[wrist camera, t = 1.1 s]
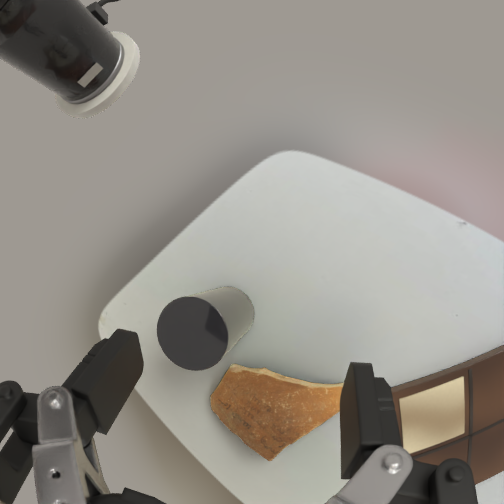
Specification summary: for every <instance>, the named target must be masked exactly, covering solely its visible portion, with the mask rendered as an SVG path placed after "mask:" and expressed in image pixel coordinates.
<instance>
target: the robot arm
mask: <svg viewBox="0 0 504 504" xmlns="http://www.w3.org/2000/svg"><path fill="white" fill-rule="evenodd" d="M115 1H119V0H101V1H99V2H98V3H97V2H94V3H92V4H90V5H89V6H87V7H85V6H84V5H83V4H82V3H81V2H80V1H79V0H0V59H1V60H3V61H5V62H6V63H8V64H10V65H11V66H13V67H14V68H16V69H18V70H19V71H21V72H23V73H24V74H26V75H27V76H29V77H30V78H32V79H34V80H35V81H37V82H38V83H40V84H42V85H43V86H45V87H46V88H48V89H50V90H51V91H53V92H54V93H56V94H57V95H59V96H61V97H62V98H63V99H64V100H65V101H67V102H69V103H71V104H82V103H85V102H88V101H90V100H92V99H93V98H95V97H96V96H98V95H99V94H101V93H102V92H103V91H104V90H105V89H106V88H107V87H108V86H109V85H110V84H111V83H112V81H113V80H114V79H115V77H116V76H117V74H118V73H119V71H120V69H121V67H122V64H123V61H124V55H125V52H124V47H123V45H122V44H121V43H120V42H119V41H118V40H117V39H116V38H115V37H113V35H112V34H111V33H110V32H109V31H108V30H107V29H106V28H105V27H104V25H105V24H107V23H108V14H107V13H106V12H105V11H104V10H103V9H102V8H101V7H102V6H103V5H104V4H106V3H108V2H115ZM143 366H144V362H143V357H142V352H141V348H140V343H139V338H138V335H137V333H136V332H132V331H127V330H123V329H117V330H116V331H115V332H114V333H113V334H112V336H111V337H110V338H109V339H106V338H105V339H103V340H102V341H100V342H98V343H97V344H95V345H94V346H93V347H92V349H91V350H90V351H89V352H88V355H86V356H85V357H84V358H83V360H82V362H80V363H79V365H78V366H77V367H76V368H75V370H74V371H73V372H72V373H71V375H70V376H69V377H68V379H67V380H66V381H65V382H64V383H63V385H62V386H52V387H49V388H47V389H45V390H44V391H42V392H41V394H34V393H26V392H23V390H22V388H21V386H20V385H19V384H18V383H17V382H15V381H5V382H2V383H0V443H1V441H2V440H3V438H4V437H5V435H6V434H7V432H8V431H9V429H10V428H12V429H13V433H12V435H11V436H10V437H9V439H8V440H7V442H6V444H5V445H4V447H3V448H2V450H1V451H0V504H12V503H13V501H14V500H15V498H16V496H17V494H18V492H19V490H20V488H21V486H22V485H23V483H24V481H25V479H26V477H27V476H28V474H29V472H30V470H31V468H32V467H34V477H35V486H36V492H37V499H38V504H166V503H164V502H162V501H160V500H158V499H157V498H155V497H152V496H149V495H146V494H143V493H140V492H137V491H134V490H131V489H128V488H124V490H123V493H122V494H119V493H116V494H115V493H112V494H110V491H109V489H108V487H107V485H106V483H105V481H104V478H103V475H102V471H101V467H100V463H99V459H98V455H97V451H96V446H95V442H94V439H93V435H94V434H95V432H96V431H97V432H100V433H102V434H105V435H106V434H107V433H108V431H109V429H110V428H111V426H112V424H113V422H114V421H115V419H116V417H117V415H118V414H119V412H120V410H121V409H122V407H123V405H124V403H125V402H126V400H127V398H128V397H129V395H130V393H131V392H132V390H133V388H134V387H135V385H136V383H137V382H138V380H139V378H140V377H141V375H142V372H143ZM340 431H341V479H350V480H349V481H348V482H347V484H346V485H345V486H344V487H343V488H342V489H341V490H340V491H339V492H338V493H337V494H336V495H335V496H332V497H331V498H330V499H329V500H328V501H327V502H326V503H325V504H478V501H477V495H476V489H475V483H474V478H473V473H472V470H471V468H470V466H469V465H468V464H467V463H466V462H465V461H463V460H461V459H457V458H450V459H446V460H444V461H443V462H442V463H440V465H439V466H438V465H433V464H428V463H423V462H419V461H416V460H414V459H413V458H412V457H411V455H410V454H409V453H408V451H406V450H405V449H404V448H403V447H402V443H401V437H400V432H399V426H398V421H397V415H396V411H395V405H394V402H393V395H392V391H391V387H390V386H389V385H388V383H387V382H386V381H385V379H384V378H377V377H374V373H373V367H372V364H371V363H357V362H351V363H350V365H349V368H348V372H347V375H346V378H345V381H344V385H343V388H342V391H341V396H340Z"/></svg>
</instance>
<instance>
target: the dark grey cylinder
mask: <svg viewBox="0 0 504 504" xmlns="http://www.w3.org/2000/svg"><path fill="white" fill-rule="evenodd" d="M253 320H254V308H253V305H252V302H251V300H250V299H249V297H248V296H247V295H246V294H245V293H244V292H242V291H241V290H239V289H237V288H234V287H220V288H216V289H212V290H209V291H205V292H201V293H197V294H193V295H189V296H185V297H181V298H178V299H176V300H173V301H172V302H170V303H169V304H168V305H167V306H166V307H165V308H164V309H163V311H162V313H161V315H160V317H159V320H158V324H157V336H158V341H159V344H160V346H161V348H162V350H163V352H164V353H165V355H166V356H167V357H168V358H169V359H170V360H171V361H172V362H173V363H175V364H176V365H178V366H180V367H182V368H185V369H188V370H195V371H198V370H205V369H208V368H210V367H212V366H214V365H215V364H217V363H218V362H219V361H220V360H221V359H222V358H223V357H224V356H225V355H226V354H227V352H228V351H229V350H230V349H231V348H232V347H233V346H234V345H235V344H236V343H237V342H238V341H239V340H240V339H241V338H242V337H243V336H244V335H245V334H246V332H247V331H248V330H249V329H250V327H251V326H252V323H253Z"/></svg>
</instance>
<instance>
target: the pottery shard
mask: <svg viewBox="0 0 504 504" xmlns="http://www.w3.org/2000/svg"><path fill="white" fill-rule="evenodd" d="M343 385H344V383H338V384H319V383H312V382H307V381H303V380H299V379H294V378H290V377H286V376H283V375H280V374H277V373H275V372H272V371H270V370H268V369H267V368H256V369H254V368H247V367H243V366H241V365H238V364H232V365H230V367H229V369H228V370H227V372H226V373H225V375H224V377H223V379H222V380H221V382H220V383H219V385H218V387H217V388H216V389H215V391H214V392H213V393H212V395H211V396H210V397H211V408H212V410H213V412H214V413H216V414H217V415H218V417H219V419H220V420H221V421H222V422H223V423H224V424H225V425H226V426H227V427H228V428H229V429H230V431H232V432H233V433H234V434H236V435H238V436H239V437H240V438H241V439H242V441H243V442H244V443H245V444H246V445H247V446H249V447H250V448H251V449H253V450H254V451H255V452H257V453H258V454H259V455H261V456H262V457H264V458H265V459H267V460H268V461H272V460H273V459H274V458H275V457H276V456H277V455H278V454H279V453H280V452H281V451H282V450H283V449H284V448H285V447H287V446H288V445H289V444H292V443H294V442H296V441H297V440H298V439H300V438H301V437H303V436H304V435H306V434H308V433H309V432H310V431H312V430H313V429H314V428H316V427H318V426H320V425H321V424H323V423H324V422H325V421H327V420H328V419H329V418H331V417H332V416H334V415H335V414H337V413H338V412H339V411H340V396H341V391H342V388H343Z"/></svg>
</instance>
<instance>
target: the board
mask: <svg viewBox="0 0 504 504" xmlns="http://www.w3.org/2000/svg"><path fill="white" fill-rule="evenodd" d="M391 391H392V395H393V402H394V405H395V411H396V415H397V421H398V426H399V432H400V437H401V443H402V447H403V448H404V449H405V450H406V451H408V453H409V454H410V455H411V457H412V458H413V459H414V460H416V461H419V462H423V463H428V464H433V465H438V466H439V465H440V463H442V462H443V461H444V460H446V459H450V458H457V459H461V460H463V461H465V462H466V463H467V464H468V465H469V466H470V468H471V470H472V473H473V478H474V483H475V485H476V484H478V483H480V482H482V481H484V480H486V479H488V478H490V477H492V476H494V475H496V474H498V473H500V472H502V471H504V345H502V346H500V347H498V348H496V349H494V350H491V351H489V352H487V353H485V354H482V355H480V356H478V357H475V358H473V359H471V360H468V361H466V362H463V363H461V364H458V365H456V366H453V367H451V368H448V369H445V370H443V371H440V372H437V373H434V374H432V375H429V376H426V377H423V378H420V379H417V380H414V381H411V382H408V383H405V384H402V385H398V386H395V387H392V388H391Z"/></svg>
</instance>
